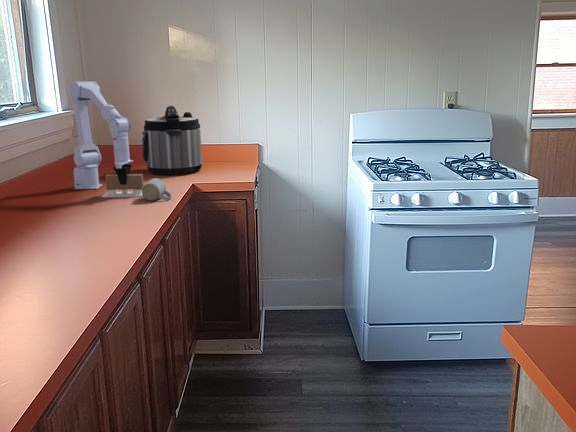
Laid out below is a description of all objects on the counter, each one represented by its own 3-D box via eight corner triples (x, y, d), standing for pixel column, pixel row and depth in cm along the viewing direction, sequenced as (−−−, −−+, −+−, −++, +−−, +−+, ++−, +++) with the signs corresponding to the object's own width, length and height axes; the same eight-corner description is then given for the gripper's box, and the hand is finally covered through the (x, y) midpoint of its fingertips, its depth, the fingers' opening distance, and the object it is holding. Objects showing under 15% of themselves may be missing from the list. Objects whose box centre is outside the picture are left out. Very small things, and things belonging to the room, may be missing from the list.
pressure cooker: (166, 164, 288) (162, 103, 280) (213, 167, 278) (211, 104, 270) (131, 174, 261) (126, 107, 253) (183, 178, 251) (179, 108, 243)
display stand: (102, 197, 213) (101, 191, 212) (107, 193, 221) (106, 187, 220) (143, 196, 214) (143, 190, 213) (147, 192, 222) (146, 186, 221)
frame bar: (106, 189, 215) (105, 175, 213) (108, 188, 218) (107, 174, 216) (142, 189, 216) (141, 175, 214) (143, 187, 219) (142, 174, 217)
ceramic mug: (141, 201, 206) (139, 181, 204) (147, 196, 214) (146, 177, 212) (168, 202, 206) (167, 182, 204) (174, 197, 214) (173, 178, 212)
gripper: (127, 151, 206) (130, 186, 209) (135, 146, 220) (138, 179, 223) (108, 152, 205) (112, 187, 209) (117, 146, 219) (120, 180, 223)
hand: (124, 183), depth 216 cm, fingers open, 3 cm apart
